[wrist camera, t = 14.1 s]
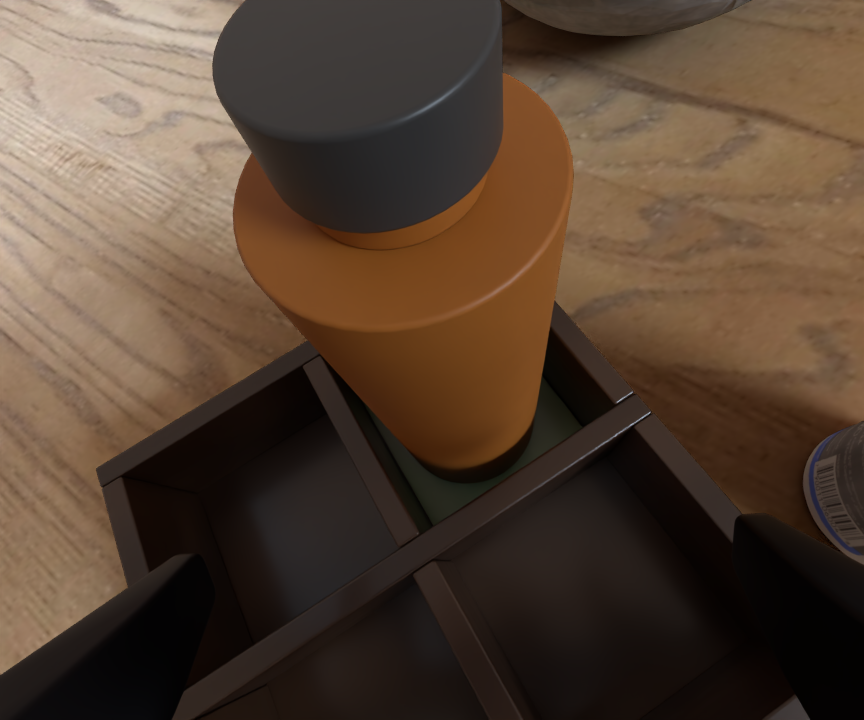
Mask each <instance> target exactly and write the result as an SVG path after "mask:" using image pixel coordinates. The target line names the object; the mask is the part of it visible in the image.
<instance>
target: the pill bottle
mask: <svg viewBox="0 0 864 720" xmlns="http://www.w3.org/2000/svg"><path fill="white" fill-rule="evenodd" d="M803 489H804V494H805V498H806V502H807V505H808V508H809V510H810V513H811V515H812V517H813V519H814V521H815V522H816V524H817V525H818V527H819V528H820V530H821V531H822V532H823V533H824V534H825V536H826V537H827V538H828V539H829V540H830V541H831V542H832V543H833V544H834V545H835V546H836V547H837V548H838V549H839V550H841V551H842V552H843V553H844V554H845V555H847V556H848V557H850V558H852V559H854V560H856V561H858V562H859V563H861V564H863V565H864V421H862V422H860V423H858V424H856V425H853V426H850V427H847V428H845V429H842V430H840V431H838V432H836V433H834V434H832V435H830V436H828V437H827V438H826V439H824V440H823V441H822V442H821V443H820V444H818V446H817V447H816V448H815V449H814V450H813V452H812V454H811V455H810V457H809V459H808V461H807V464H806V467H805V470H804V475H803Z"/></svg>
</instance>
